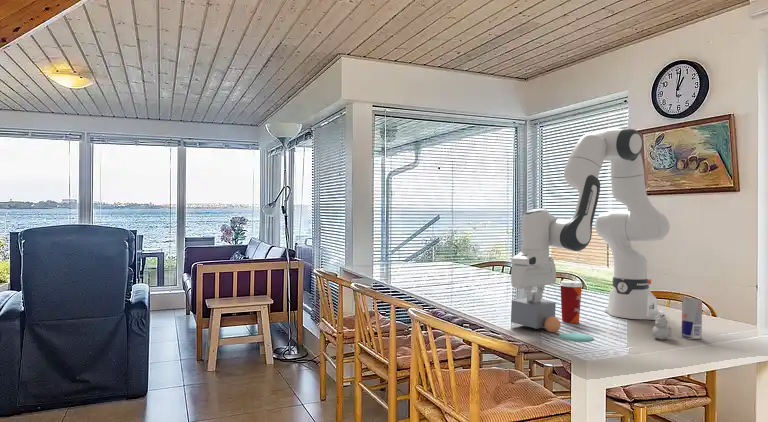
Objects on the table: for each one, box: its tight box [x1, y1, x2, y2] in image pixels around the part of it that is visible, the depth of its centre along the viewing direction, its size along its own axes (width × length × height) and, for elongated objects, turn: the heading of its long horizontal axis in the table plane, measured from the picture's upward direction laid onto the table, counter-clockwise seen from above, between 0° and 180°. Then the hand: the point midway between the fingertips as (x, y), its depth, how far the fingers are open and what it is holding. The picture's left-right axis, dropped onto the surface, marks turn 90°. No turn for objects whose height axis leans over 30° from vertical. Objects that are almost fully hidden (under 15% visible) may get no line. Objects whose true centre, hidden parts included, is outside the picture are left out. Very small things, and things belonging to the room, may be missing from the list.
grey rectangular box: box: [510, 290, 557, 330], centre depth 175 cm, size 10×10×10 cm
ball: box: [544, 316, 562, 333], centre depth 170 cm, size 5×5×5 cm
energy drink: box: [681, 297, 703, 340], centre depth 165 cm, size 5×5×12 cm
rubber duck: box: [651, 314, 672, 341], centre depth 163 cm, size 5×7×8 cm
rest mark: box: [558, 332, 595, 343], centre depth 163 cm, size 10×10×1 cm
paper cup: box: [559, 279, 583, 324], centre depth 187 cm, size 8×8×14 cm
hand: (534, 299), depth 175 cm, fingers closed on grey rectangular box, 3 cm apart
